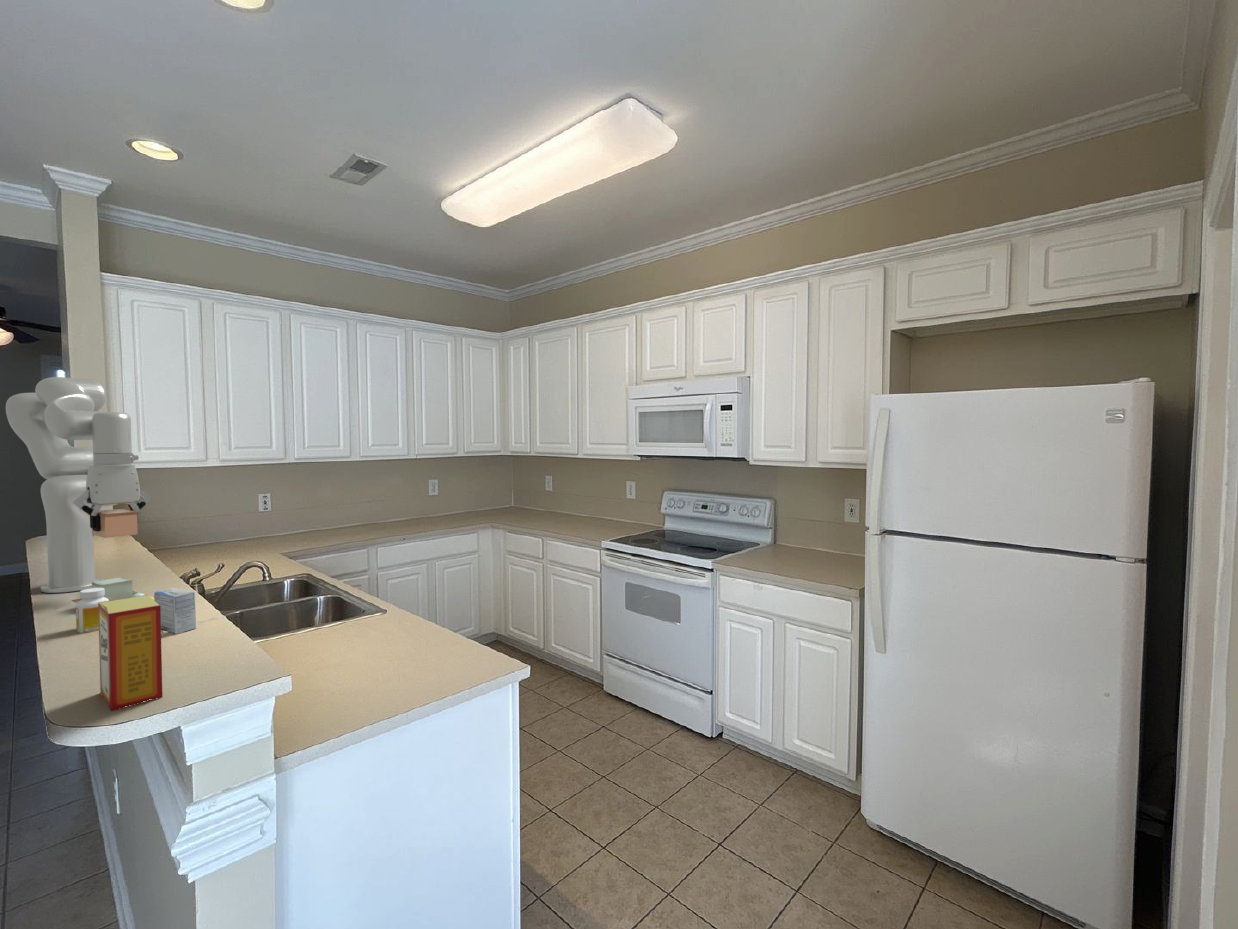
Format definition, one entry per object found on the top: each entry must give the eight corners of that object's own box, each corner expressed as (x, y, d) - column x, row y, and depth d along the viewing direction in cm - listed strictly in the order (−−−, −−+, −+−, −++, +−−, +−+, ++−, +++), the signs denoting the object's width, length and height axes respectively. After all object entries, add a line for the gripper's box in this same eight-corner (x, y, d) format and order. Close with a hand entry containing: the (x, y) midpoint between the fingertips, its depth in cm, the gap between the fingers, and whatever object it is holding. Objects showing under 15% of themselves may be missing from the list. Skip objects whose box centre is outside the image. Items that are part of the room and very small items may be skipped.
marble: (132, 609, 142) (127, 601, 143) (146, 606, 145) (142, 598, 146) (134, 600, 141) (129, 592, 142) (149, 597, 144) (144, 589, 145)
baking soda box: (100, 693, 98) (98, 600, 97) (149, 681, 103) (147, 592, 102) (111, 711, 92) (108, 612, 91) (162, 697, 97) (160, 603, 96)
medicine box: (196, 629, 131) (196, 591, 130) (174, 635, 127) (174, 596, 126) (176, 623, 134) (175, 586, 134) (154, 629, 130) (153, 591, 130)
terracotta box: (91, 534, 149) (91, 511, 149) (123, 531, 155) (123, 508, 155) (105, 537, 145) (104, 514, 145) (137, 534, 150) (137, 511, 150)
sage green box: (92, 606, 142) (91, 581, 142) (122, 600, 147) (122, 577, 147) (101, 610, 139) (101, 585, 139) (132, 604, 144) (132, 580, 144)
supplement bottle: (116, 630, 129) (115, 587, 129) (92, 638, 124) (91, 593, 123) (94, 629, 130) (93, 586, 129) (69, 637, 124) (68, 592, 124)
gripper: (147, 458, 158) (148, 523, 159) (62, 460, 143) (64, 532, 144) (159, 459, 154) (161, 526, 155) (73, 461, 140) (76, 535, 140)
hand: (114, 528), depth 150 cm, fingers closed on terracotta box, 6 cm apart
